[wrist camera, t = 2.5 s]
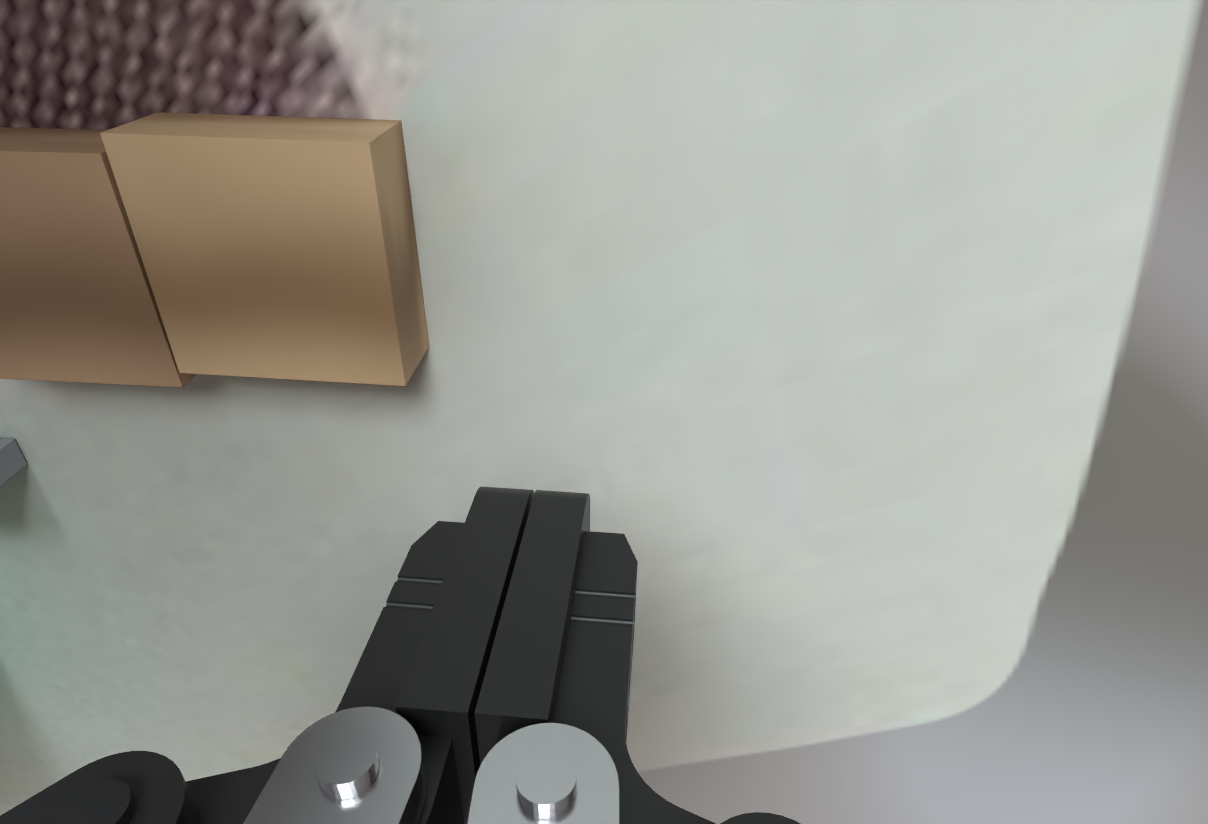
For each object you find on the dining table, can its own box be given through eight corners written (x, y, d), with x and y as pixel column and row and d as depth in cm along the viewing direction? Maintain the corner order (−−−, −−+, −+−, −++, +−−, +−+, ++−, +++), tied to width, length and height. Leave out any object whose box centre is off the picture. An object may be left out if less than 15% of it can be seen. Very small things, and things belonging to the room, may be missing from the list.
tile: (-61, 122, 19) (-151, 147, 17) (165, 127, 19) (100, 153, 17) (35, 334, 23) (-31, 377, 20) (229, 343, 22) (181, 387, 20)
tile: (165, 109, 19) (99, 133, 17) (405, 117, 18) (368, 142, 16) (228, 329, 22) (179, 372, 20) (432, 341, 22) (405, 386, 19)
